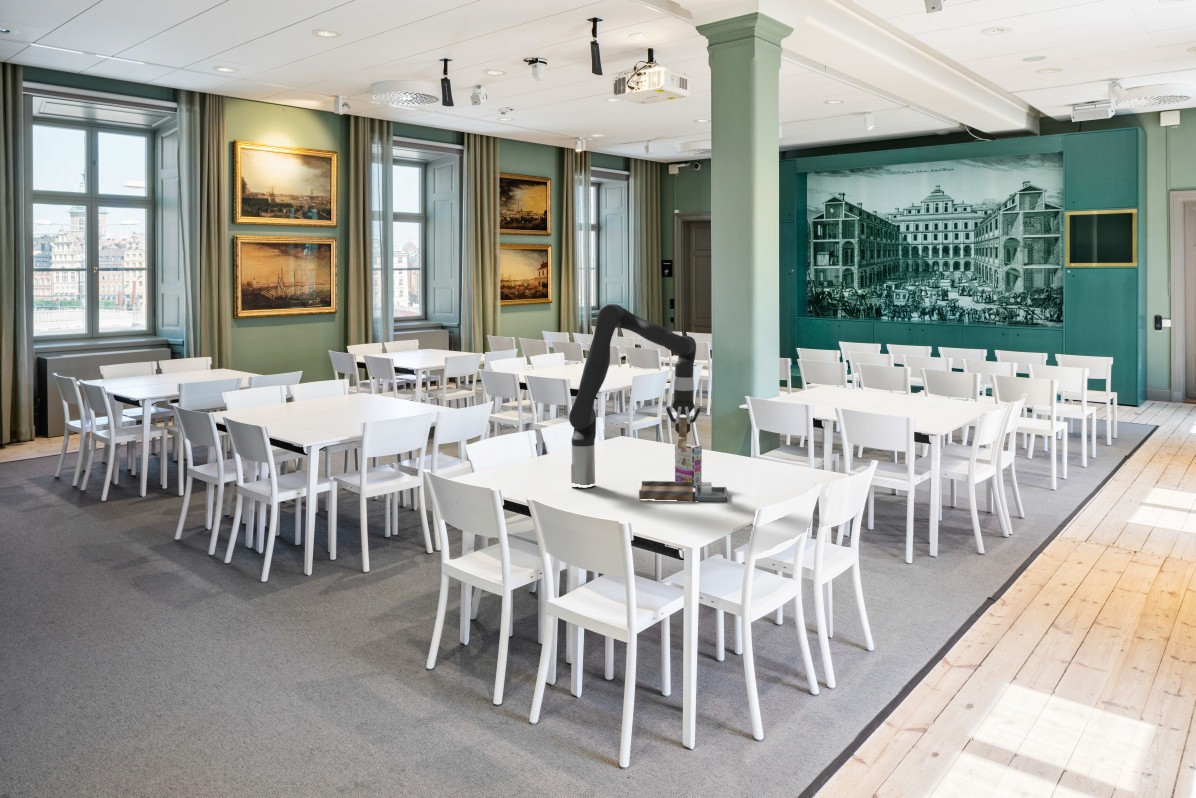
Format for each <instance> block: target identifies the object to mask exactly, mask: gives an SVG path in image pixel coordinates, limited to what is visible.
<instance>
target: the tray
mask: <svg viewBox="0 0 1196 798" xmlns="http://www.w3.org/2000/svg"><path fill="white" fill-rule="evenodd" d="M694 491H695V492H694V502H695V501H698V502H697V503H728V491H727V486H712V497H711V496H701V486H698V487H694Z"/></svg>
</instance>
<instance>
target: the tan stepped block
mask: <svg viewBox="0 0 1196 798" xmlns="http://www.w3.org/2000/svg"><path fill="white" fill-rule="evenodd" d="M677 444H678V449H686V445H687V444H688V433H687V418H686V417H681V416H680V418H679V433H678V438H677Z"/></svg>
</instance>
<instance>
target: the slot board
mask: <svg viewBox="0 0 1196 798" xmlns="http://www.w3.org/2000/svg"><path fill="white" fill-rule="evenodd" d="M693 496H694V487H693V482H682V481H675V480H673V481H668V480H663V481H662V480H642V481H641V488H640V489H639V490H638V500H639V499H655V500H677V501H692V502H693Z"/></svg>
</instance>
